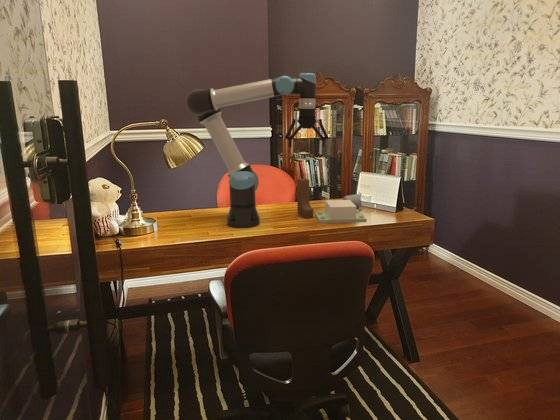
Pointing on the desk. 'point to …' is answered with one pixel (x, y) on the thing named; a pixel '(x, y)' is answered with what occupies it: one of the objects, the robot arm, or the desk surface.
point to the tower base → (326, 220)
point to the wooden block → (303, 199)
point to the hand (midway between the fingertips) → (306, 154)
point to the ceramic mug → (354, 200)
